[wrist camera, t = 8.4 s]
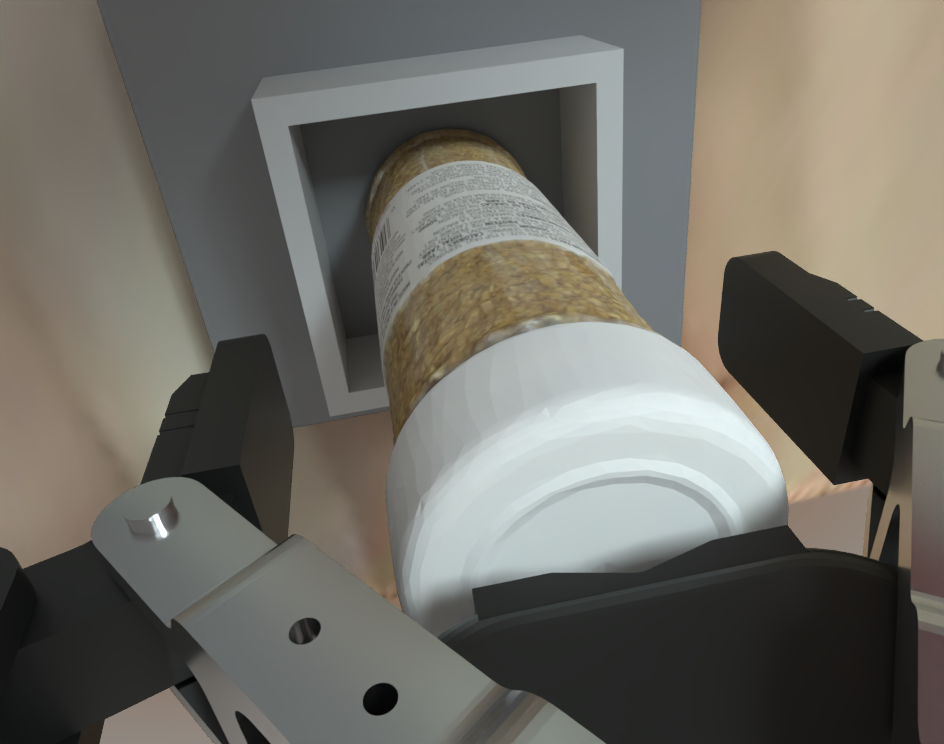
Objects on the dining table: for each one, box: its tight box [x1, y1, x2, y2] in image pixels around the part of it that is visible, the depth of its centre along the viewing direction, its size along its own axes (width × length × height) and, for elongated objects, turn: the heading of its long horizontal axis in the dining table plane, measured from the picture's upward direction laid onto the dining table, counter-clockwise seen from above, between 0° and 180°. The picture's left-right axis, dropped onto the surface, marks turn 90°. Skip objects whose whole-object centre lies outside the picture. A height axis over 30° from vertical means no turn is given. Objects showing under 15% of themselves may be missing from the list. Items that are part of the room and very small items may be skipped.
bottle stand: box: [97, 0, 701, 428], centre depth 18 cm, size 12×14×4 cm
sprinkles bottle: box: [365, 128, 789, 637], centre depth 13 cm, size 5×5×14 cm
